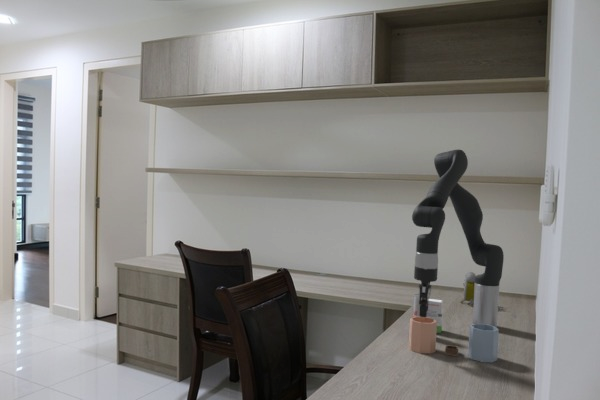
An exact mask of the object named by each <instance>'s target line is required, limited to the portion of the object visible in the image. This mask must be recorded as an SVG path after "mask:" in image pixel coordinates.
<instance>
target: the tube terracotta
mask: <svg viewBox="0 0 600 400" xmlns="http://www.w3.org/2000/svg"><path fill="white" fill-rule="evenodd" d="M436 330H437V321H436V320H435V319H432V318H428V317H418V316H415V317H413V316H412V317H410V318H409V333H408V335H409V336H408V337H409V338H408V349H409V350H410V351H411V350H412V352H414V351H415V353H418V354H427V353H430V354H432V353H435V352H436V348H437V347H436V345H437V343H436V342H437V333H436Z"/></svg>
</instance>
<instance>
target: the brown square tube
mask: <svg viewBox="0 0 600 400" xmlns="http://www.w3.org/2000/svg"><path fill="white" fill-rule="evenodd" d="M444 351H445V352H444V353H445V354H444V355H446V354H449V355H448V356H453V355H455V356H454V357H459V346H457V345H451V344H445V350H444Z"/></svg>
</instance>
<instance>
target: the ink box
mask: <svg viewBox="0 0 600 400" xmlns="http://www.w3.org/2000/svg"><path fill="white" fill-rule="evenodd" d="M443 304H444V300H442V299H441V300H440V299H435V298H429V300H428V314H427V317H428V318H432V319H435V320H436V321H437V330H436V334H437V333H438V334H441V333H442V329H443V312H444V311H443V308H444V307H443V306H444V305H443Z"/></svg>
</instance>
